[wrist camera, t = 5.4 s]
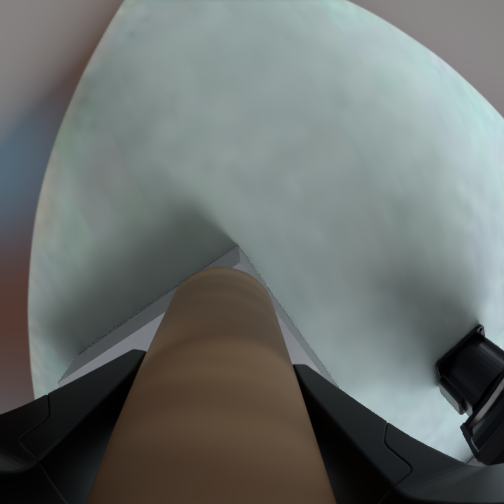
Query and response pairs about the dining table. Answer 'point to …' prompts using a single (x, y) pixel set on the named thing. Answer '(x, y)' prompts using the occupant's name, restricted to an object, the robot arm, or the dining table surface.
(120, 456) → the peg
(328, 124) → the dining table surface
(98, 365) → the socket
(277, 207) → the dining table surface
